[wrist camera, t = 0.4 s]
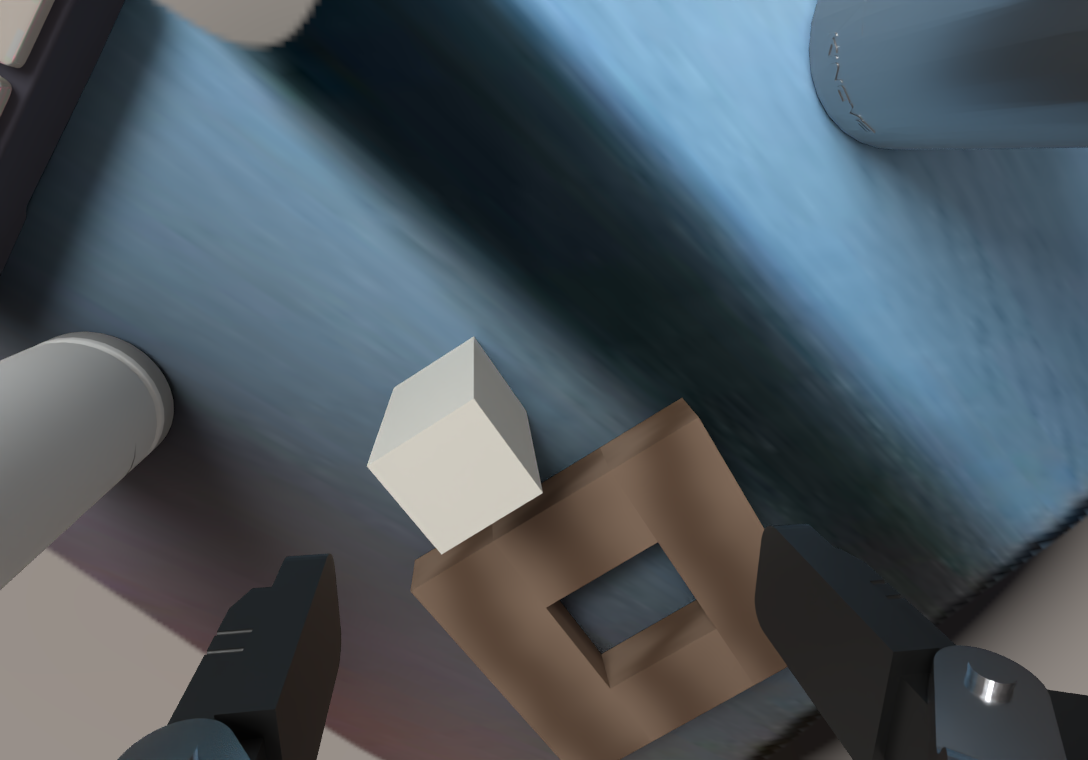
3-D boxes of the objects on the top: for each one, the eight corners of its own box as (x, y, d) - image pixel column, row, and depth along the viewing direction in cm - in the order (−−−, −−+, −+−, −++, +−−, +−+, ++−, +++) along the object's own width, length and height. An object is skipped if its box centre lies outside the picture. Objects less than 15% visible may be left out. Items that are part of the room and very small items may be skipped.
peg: (473, 336, 29) (473, 398, 22) (526, 410, 31) (542, 492, 23) (393, 387, 30) (366, 466, 22) (449, 458, 31) (441, 554, 24)
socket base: (682, 397, 31) (698, 417, 29) (808, 611, 37) (830, 642, 34) (415, 560, 33) (410, 591, 31) (573, 743, 38) (579, 781, 36)
